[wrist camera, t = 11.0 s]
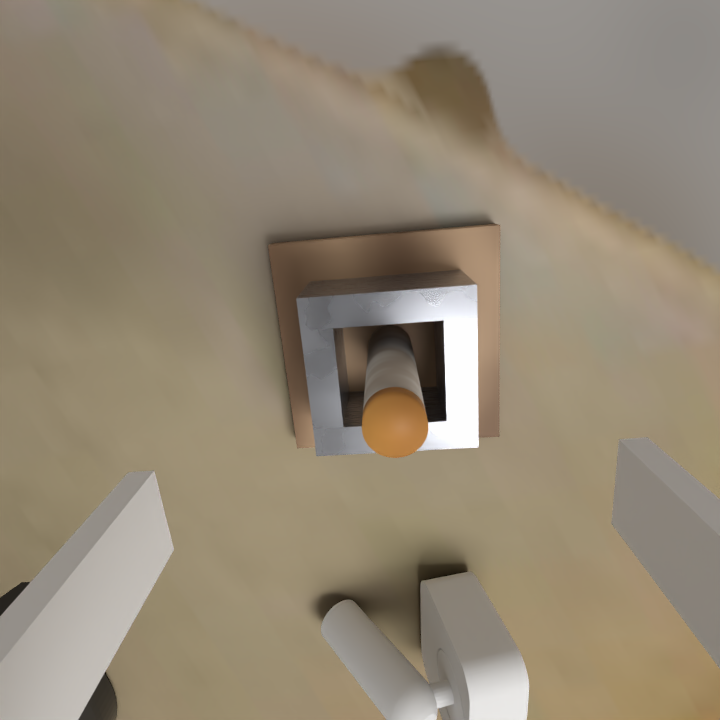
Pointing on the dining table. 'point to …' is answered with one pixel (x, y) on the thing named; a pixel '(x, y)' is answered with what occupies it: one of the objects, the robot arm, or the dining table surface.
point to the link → (382, 307)
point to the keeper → (391, 328)
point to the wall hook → (437, 657)
